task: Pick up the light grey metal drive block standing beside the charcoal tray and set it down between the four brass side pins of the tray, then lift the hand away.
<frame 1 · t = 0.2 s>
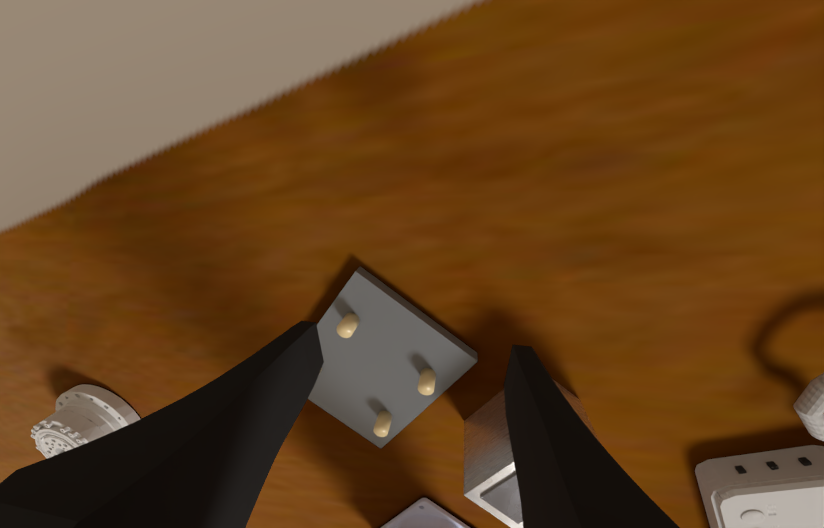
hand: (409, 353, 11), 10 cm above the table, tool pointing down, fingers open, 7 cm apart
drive: (518, 409, 24), on the table
intercom: (796, 468, 22), on the table
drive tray: (373, 362, 25), on the table
mechanical component: (112, 415, 34), on the table
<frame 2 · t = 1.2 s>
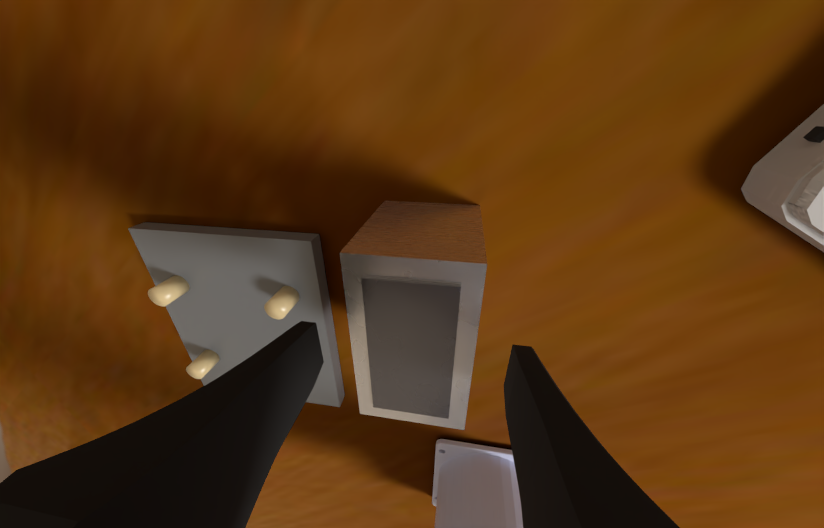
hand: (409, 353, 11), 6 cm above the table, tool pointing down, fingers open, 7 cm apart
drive: (429, 273, 16), on the table
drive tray: (256, 318, 20), on the table
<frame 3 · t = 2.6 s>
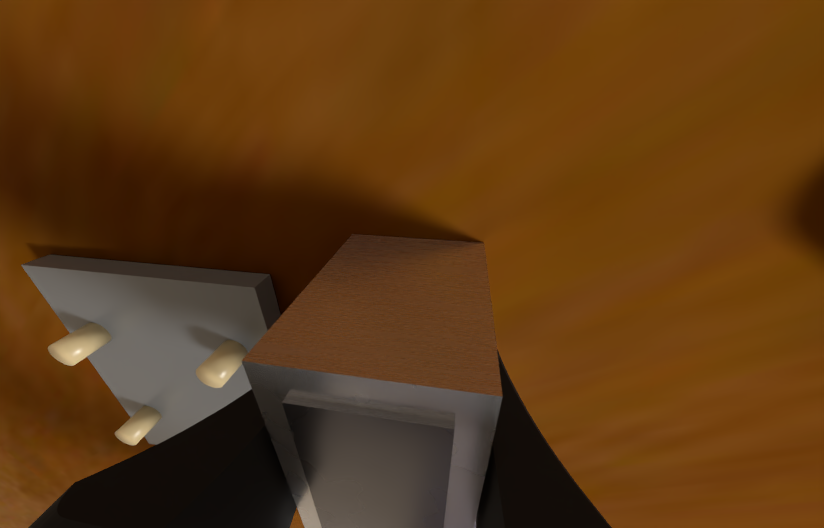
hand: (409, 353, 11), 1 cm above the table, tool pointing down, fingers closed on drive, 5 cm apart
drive: (415, 327, 12), on the table, touching gripper
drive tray: (203, 370, 16), on the table
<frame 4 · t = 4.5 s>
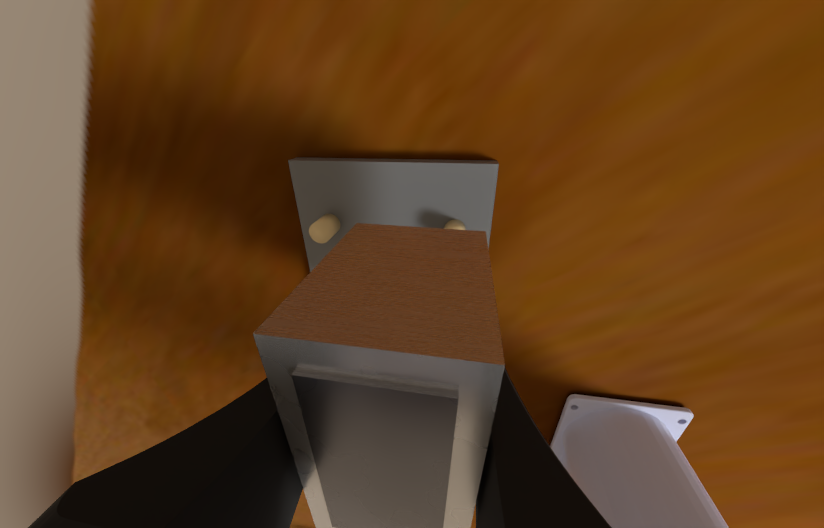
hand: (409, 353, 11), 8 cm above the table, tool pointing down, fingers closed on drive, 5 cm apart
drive: (417, 317, 12), point 7 cm above the table, touching gripper
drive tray: (396, 264, 19), on the table
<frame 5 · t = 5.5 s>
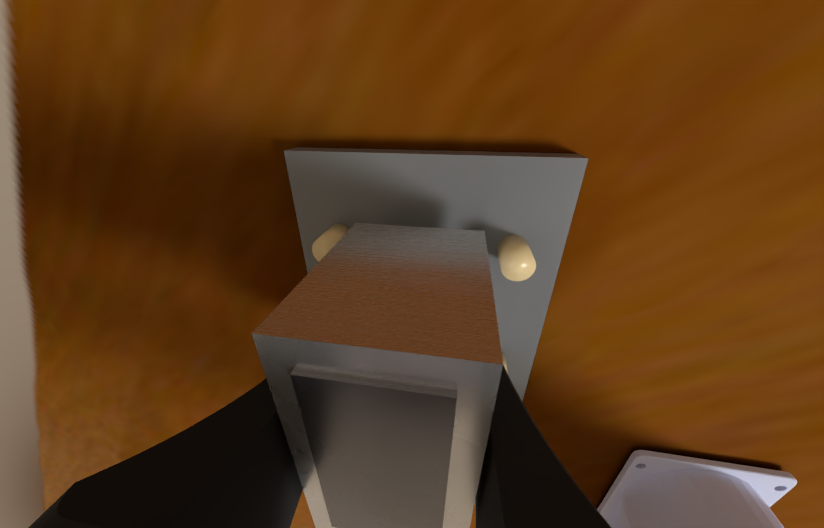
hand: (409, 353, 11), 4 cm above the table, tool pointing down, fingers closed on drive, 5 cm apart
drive: (417, 316, 12), point 2 cm above the table, touching gripper
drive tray: (424, 289, 15), on the table
when the fingers open (4 cm above the table, at t = 6.4 s): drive drops 1 cm, resting on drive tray.
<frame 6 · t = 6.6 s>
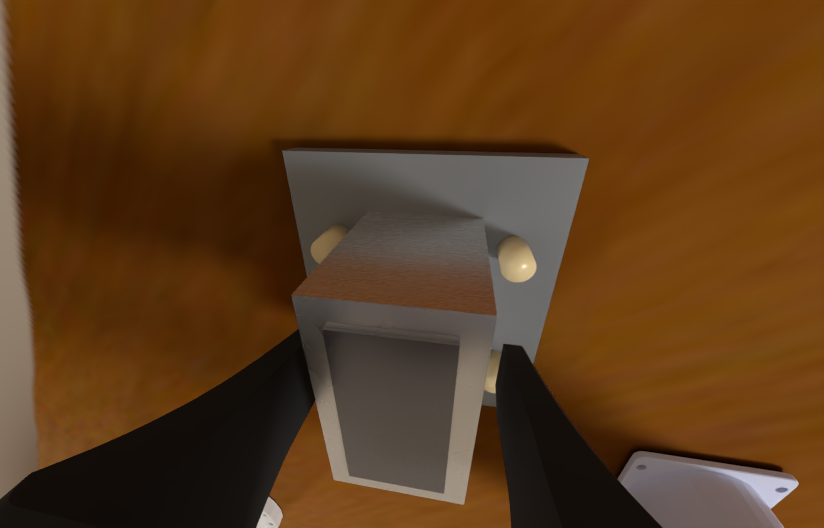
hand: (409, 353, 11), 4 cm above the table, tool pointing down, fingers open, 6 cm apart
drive: (421, 298, 14), point 1 cm above the table, touching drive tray
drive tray: (424, 290, 15), on the table
mechanical component: (240, 495, 31), on the table
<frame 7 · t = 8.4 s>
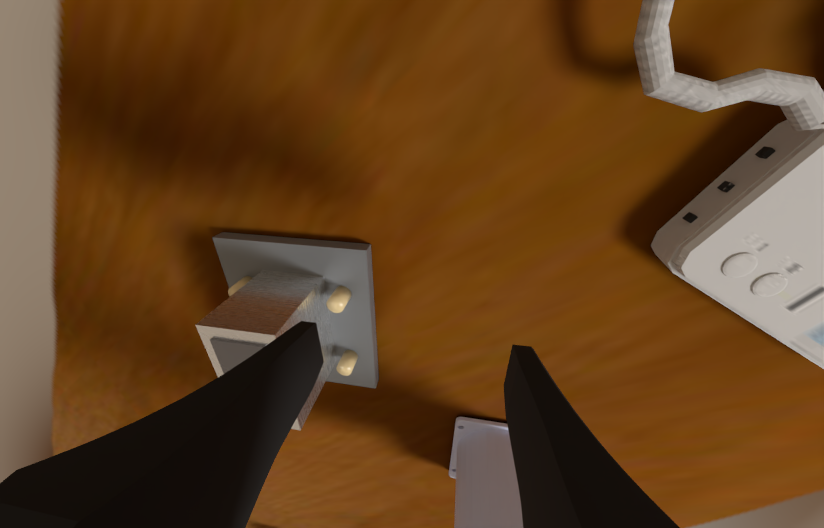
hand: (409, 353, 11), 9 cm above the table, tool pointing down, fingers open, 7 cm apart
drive: (302, 318, 23), point 1 cm above the table, touching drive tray
intercom: (794, 170, 15), on the table
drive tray: (308, 312, 24), on the table
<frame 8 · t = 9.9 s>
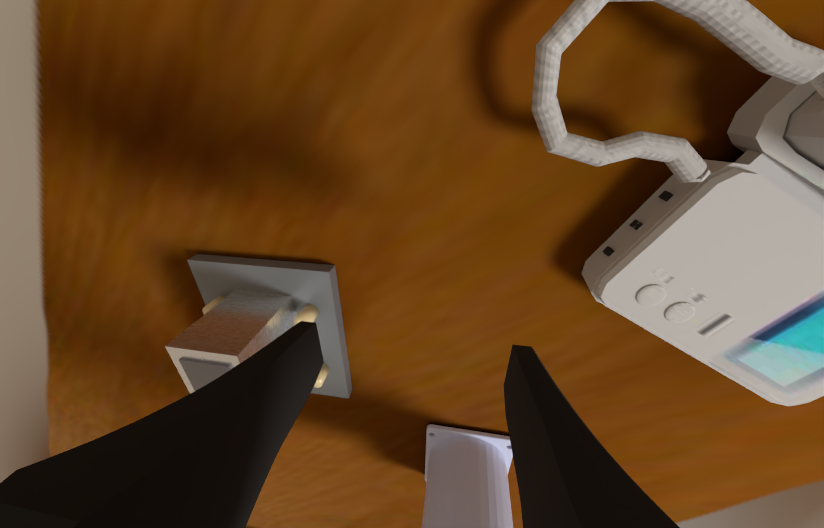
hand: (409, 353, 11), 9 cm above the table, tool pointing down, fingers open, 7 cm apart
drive: (275, 333, 24), point 1 cm above the table, touching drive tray
intercom: (701, 207, 16), on the table
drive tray: (282, 327, 25), on the table
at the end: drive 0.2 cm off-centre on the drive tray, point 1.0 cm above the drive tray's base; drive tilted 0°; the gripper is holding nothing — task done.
